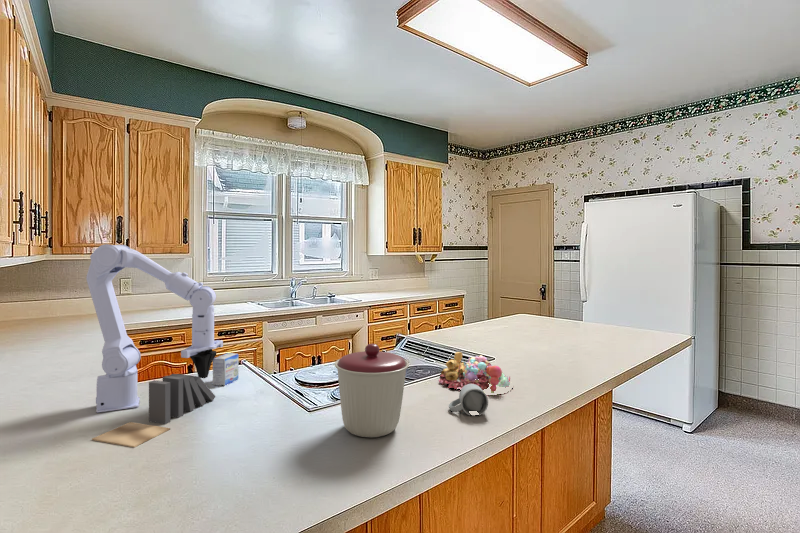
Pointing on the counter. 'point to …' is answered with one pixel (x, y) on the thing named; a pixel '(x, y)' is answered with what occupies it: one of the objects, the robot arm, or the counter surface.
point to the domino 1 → (159, 402)
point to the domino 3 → (186, 393)
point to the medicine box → (225, 369)
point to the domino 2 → (175, 395)
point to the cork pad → (131, 434)
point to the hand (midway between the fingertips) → (203, 377)
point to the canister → (371, 391)
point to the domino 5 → (204, 389)
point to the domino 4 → (196, 392)
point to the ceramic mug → (470, 400)
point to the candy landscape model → (473, 373)
